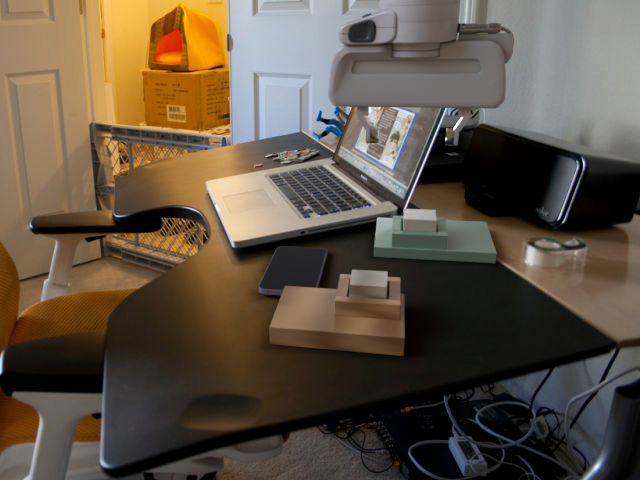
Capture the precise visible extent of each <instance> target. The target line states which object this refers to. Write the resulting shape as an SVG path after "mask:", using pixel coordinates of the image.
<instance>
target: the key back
mask: <svg viewBox="0 0 640 480" xmlns="http://www.w3.org/2000/svg"><path fill="white" fill-rule="evenodd" d="M402 213H403V214H402V216H403V231H415V232H436V228H437V217H438V216H437V210H436V209H423V208H421V209H420V208H419V209H418V208H403V212H402Z"/></svg>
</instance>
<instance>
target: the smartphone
mask: <svg viewBox="0 0 640 480" xmlns="http://www.w3.org/2000/svg"><path fill="white" fill-rule="evenodd" d="M327 257H328V250H327V249H326V248H322V247H305V246H287V245H285V246H284V245H283V246H278V247H277V248H276V249H275V251H274V253H273V255H272V256H271V259H270V261H269V263H268V265H267V267H266V269H265V272H264V274H263V276H262V277H261V280H260V281H259V284H258V293H260V294H261V295H265V296H280V297H281V295H282V292H283V289H284V287H285V286H296V287H311V288H319V287H320V283H321V280H322V275H323V272H324V268H325V264H326V261H327Z"/></svg>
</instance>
